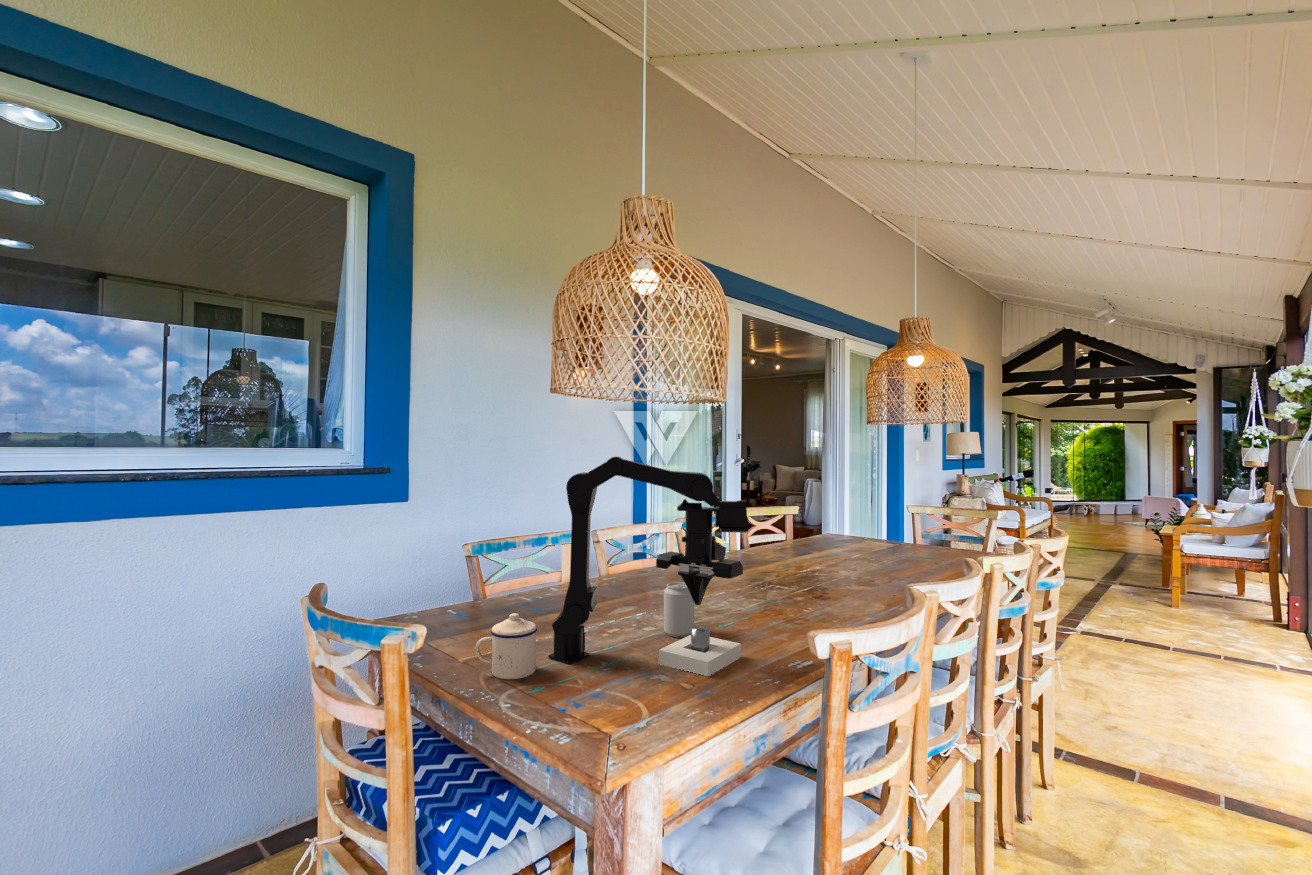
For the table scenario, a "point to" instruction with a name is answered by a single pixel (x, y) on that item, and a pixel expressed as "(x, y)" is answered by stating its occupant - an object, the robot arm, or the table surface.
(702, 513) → the robot arm
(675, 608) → the can
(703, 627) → the grey metal cylinder
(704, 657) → the block
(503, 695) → the table surface
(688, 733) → the table surface
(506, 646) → the teacup with lid
